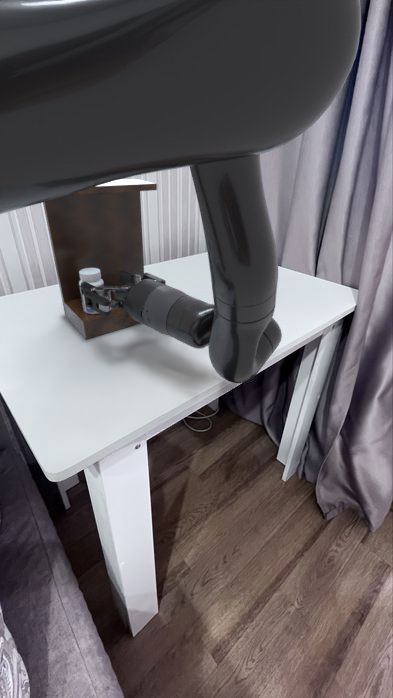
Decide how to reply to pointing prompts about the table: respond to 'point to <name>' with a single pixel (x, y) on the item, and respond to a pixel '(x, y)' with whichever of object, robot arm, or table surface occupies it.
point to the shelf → (97, 246)
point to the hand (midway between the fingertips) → (102, 281)
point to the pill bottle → (94, 279)
